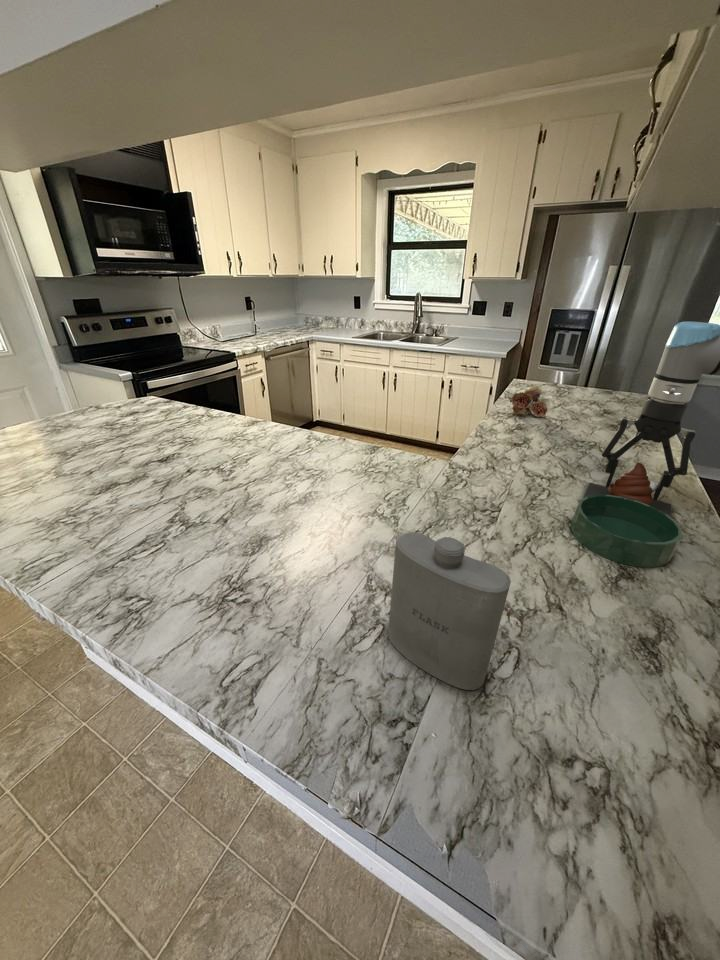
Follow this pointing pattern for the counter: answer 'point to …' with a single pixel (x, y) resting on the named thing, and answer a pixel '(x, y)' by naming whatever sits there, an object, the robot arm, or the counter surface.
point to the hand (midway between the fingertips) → (630, 491)
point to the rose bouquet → (529, 402)
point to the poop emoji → (634, 485)
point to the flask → (445, 608)
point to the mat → (602, 490)
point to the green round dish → (626, 530)
